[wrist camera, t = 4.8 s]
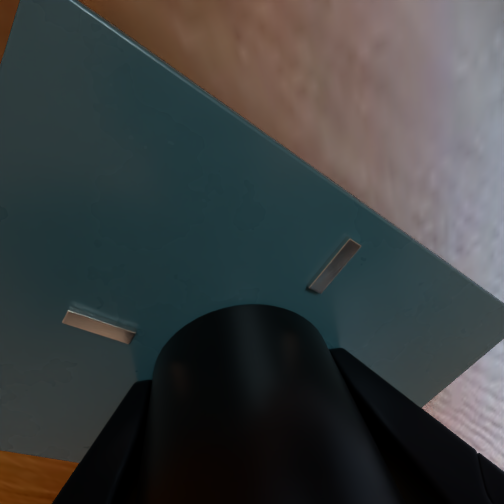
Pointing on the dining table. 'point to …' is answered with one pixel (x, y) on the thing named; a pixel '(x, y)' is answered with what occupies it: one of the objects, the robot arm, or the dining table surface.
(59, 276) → the dial console
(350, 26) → the dining table surface
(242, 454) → the dial
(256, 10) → the dining table surface
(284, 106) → the dining table surface
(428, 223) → the dining table surface
